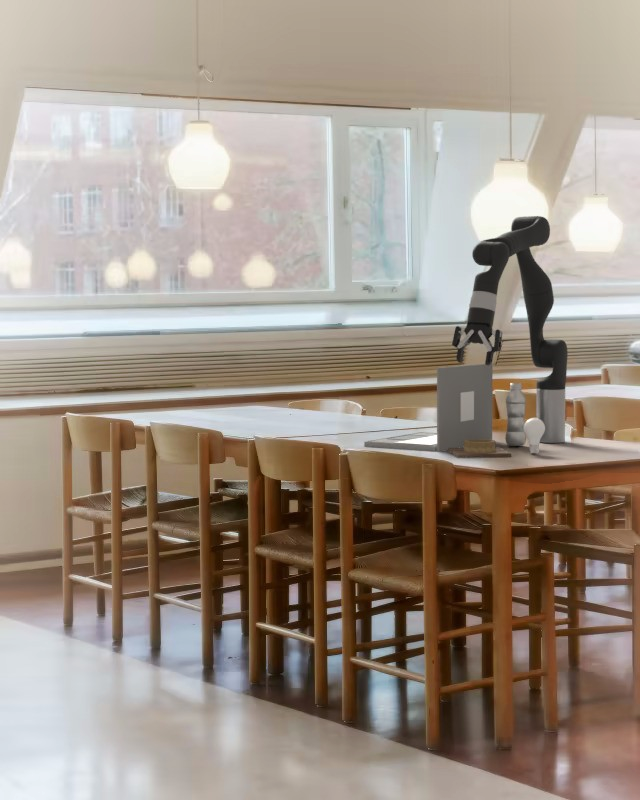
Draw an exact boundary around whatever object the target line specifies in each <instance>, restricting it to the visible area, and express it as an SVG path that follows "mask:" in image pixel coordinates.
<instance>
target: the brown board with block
mask: <svg viewBox="0 0 640 800" xmlns="http://www.w3.org/2000/svg"><path fill="white" fill-rule="evenodd" d="M448 452H449V453H450V452H451V454H452V455H453V456H454V455H455V456H454V457H456V458H457V457H462V458H511V457H512V453H511V452H510V451H507V449H504V448H502V447H496V440H494V439H492V440H488V439H470V440H464V447H461V448H449V450H448Z"/></svg>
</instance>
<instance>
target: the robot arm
mask: <svg viewBox="0 0 640 800" xmlns="http://www.w3.org/2000/svg"><path fill="white" fill-rule="evenodd" d="M550 227H551V226H550V224H549V221H548V219H547V218H546V217H544V216H540V215H534V216H532V215H531V216H530V215H529V216H518V217H514V218H513V220H512V223H511V227H510V230H511V231H507V232H505V233H502V234H500V235H498V236H497V237H494V238H488V239H483V240H480V241H478V242H477V243H476V244H475V246H474V247H473V249H472V256H471V257H472V259H473V261H474V263H475V264H476V265H479V266H481V267H482V266H483V267H485V266H486V267H490V268H489V269H488V270H486V271H483V272H479V273H476V275H475V277H474V283H473V287H472V288H473V290H472V294H471V297H470V300H469V306H468V307H469V308H468V314H467V319H466V326H465V327H461V326H458V325H457V326H455V329H454V333H453V338H452V344H451V346H453V347H455V348H456V349H457V352H456V356H455V358H456V361H457V362H458V363H459V364H462V363H464V361H463V360H464V355H465V349H466V348H467V346H469V345H470V344H471V343H472V344H479V345H484V346H485V347H486V349H487V351H486V355H485V362H484V364H485V365H490V364H491V363H493V360H494V359H493V358H494V353H497V352H500V351H501V349H502V341H503V340H502V338H503V331H502V330H500V329H498V328H497V329H493V326H494V320H495V313H496V308H497V297H498V290H499V283H500V280H501V278H502V276H503V273H504V270H505V268H506V267H507V264H508V261H509V259H510V258H511V257H513V256H514V255H516V258H517V259H516V260H517V264H518V268H519V274H520V280H521V288H522V292H523V293H522V295H523V300H524V305H525V310H526V315H527V321H528V329H529V342H530V344H529V345H530V352H531V354H530V355H531V361H532V363H533V364H534V366H535V367H536V368H543V369H545V368H546V369H552V371H551V373H550V374H549V375H547V376H545V377H543V378H540V379H537V380H536V406H535V407H536V408H535V409H536V413H535V415H536V417H535V418H538V419H540V420H541V421H542V422H543V423H544V425H545V432H544V434H543V436H542V437H541V439H540V443H547V444H554V443H555V444H557V443H559V444H561V443H565V442H566V383H567V373H568V371H567V369H568V346H567V343H566V341H565V340H563V339H547V338H546V339H545V338H544V327H545V326H544V325H545V323H546V321H547V319H548V317H549V315H550V313H551V311H552V309H553V306H554V303H555V299H554V298H555V297H554V291H553V286H552V282H551V279H550V278H549V276H548V275H547V273H546V272H545V271H544V270H543V268H541V266H540V265H539V264H538V263H537V261H536V260H535V258H534V257H533V255H532V252H531V251H532V250H531V248H532V247H539V246H543V245H545V244H546V243H547V242H548V240H549V238H550V235H551V228H550ZM464 333H465V336H464V337H463V338H462V340H461V337H462V335H463V334H464ZM491 337H494V345H493V344H492V342H491Z"/></svg>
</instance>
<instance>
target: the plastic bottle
mask: <svg viewBox="0 0 640 800" xmlns="http://www.w3.org/2000/svg"><path fill="white" fill-rule="evenodd" d="M509 385H510V386H509V389H510V391H509V393H508V394H507V396H506V398H505V404H506V405H505V406H506V407H505V408H506V416H507V423H506V432H505V443H506V445H507V446H509V447H513V446H518V447H523V446H524V445H525V444H526V441H527V436H526V435H525V433H524V429H523V427H524V424H525V414H526V413H525V411H526V405H527V399H526V396H525V394H524V393H523V391H522V389H523V387H522V386H523V385H522V383H521V382H510V384H509Z"/></svg>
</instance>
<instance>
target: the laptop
mask: <svg viewBox="0 0 640 800" xmlns="http://www.w3.org/2000/svg"><path fill="white" fill-rule="evenodd" d="M493 365H494V364H493V362H492V363H491V364H490V365H485V363H476V364H475V363H474V364H464V365H453V366H441V367H436V432H426V431H423V432H422V431H421V432H414V433H409V434H402V435H396V436H391V437H385V438H379V439H372V440H368V441H367V440H366V441H363V442H364V443H363V447H367V448H381V449H393V450H394V449H395V450H406V451H407V450H409V451H423V452H424V451H425V452H437V453H439V452H445V451H449V448H459V447H461V448H464V440H470V439H488V440H493ZM444 450H445V451H444Z"/></svg>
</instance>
